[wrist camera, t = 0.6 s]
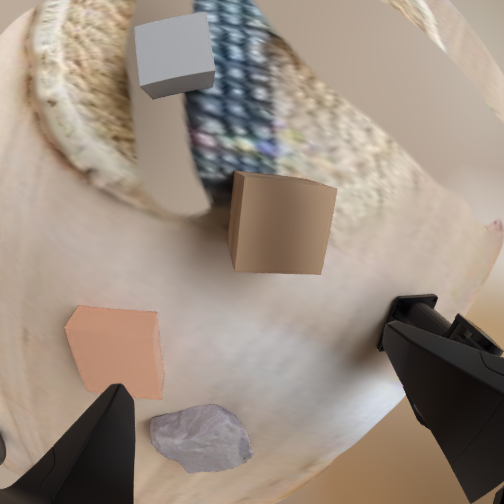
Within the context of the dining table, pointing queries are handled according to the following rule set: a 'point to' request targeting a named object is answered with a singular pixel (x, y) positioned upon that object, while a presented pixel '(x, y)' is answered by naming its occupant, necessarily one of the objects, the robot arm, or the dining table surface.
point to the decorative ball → (2, 450)
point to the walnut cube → (279, 223)
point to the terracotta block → (117, 350)
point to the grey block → (174, 55)
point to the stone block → (201, 438)
